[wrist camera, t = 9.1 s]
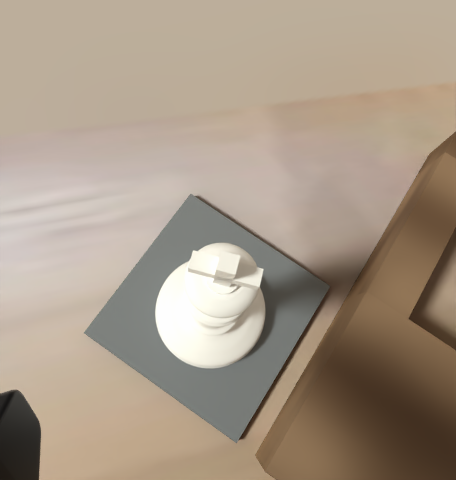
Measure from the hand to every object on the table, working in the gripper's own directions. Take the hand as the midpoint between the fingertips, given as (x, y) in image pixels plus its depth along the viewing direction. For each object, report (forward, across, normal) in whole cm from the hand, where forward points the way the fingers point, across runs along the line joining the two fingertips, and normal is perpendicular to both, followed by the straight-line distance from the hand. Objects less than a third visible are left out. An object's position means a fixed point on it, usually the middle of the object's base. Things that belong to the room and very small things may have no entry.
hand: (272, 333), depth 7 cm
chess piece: (+9, +1, +6) cm, 11 cm away
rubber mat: (+10, +1, +6) cm, 11 cm away
